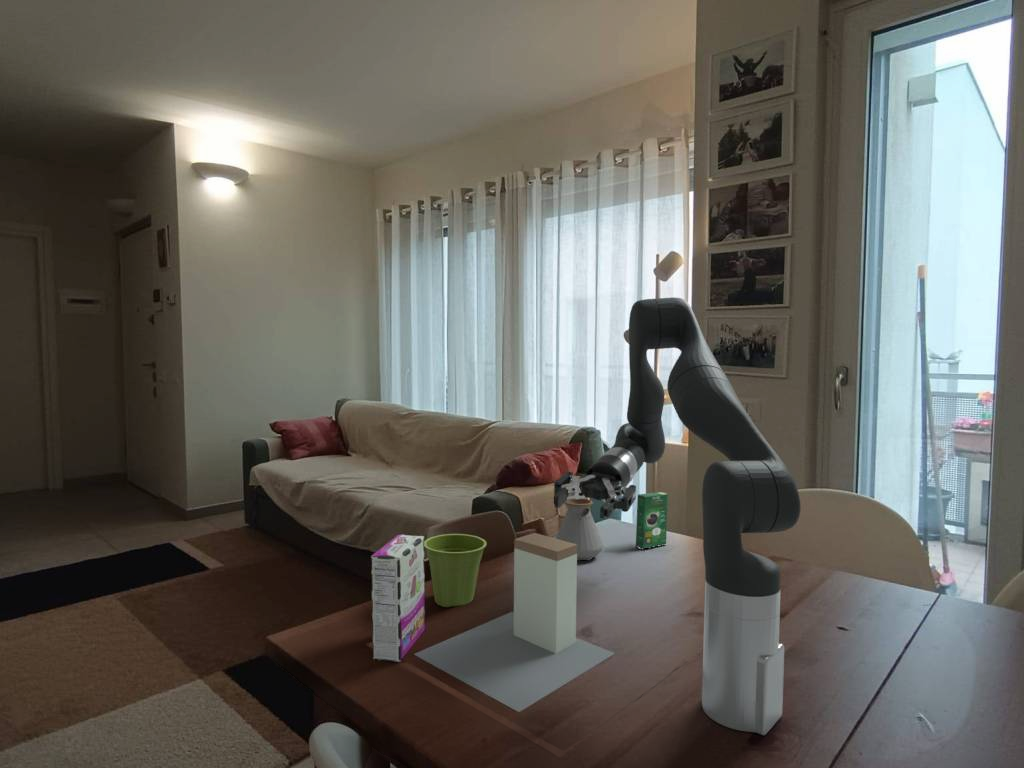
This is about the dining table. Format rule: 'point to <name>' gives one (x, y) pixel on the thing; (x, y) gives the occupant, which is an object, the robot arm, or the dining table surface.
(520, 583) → the cream block
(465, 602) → the plant pot
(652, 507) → the coffee box
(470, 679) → the rubber mat
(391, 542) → the candy bar box
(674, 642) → the dining table surface
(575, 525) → the coffee pot
